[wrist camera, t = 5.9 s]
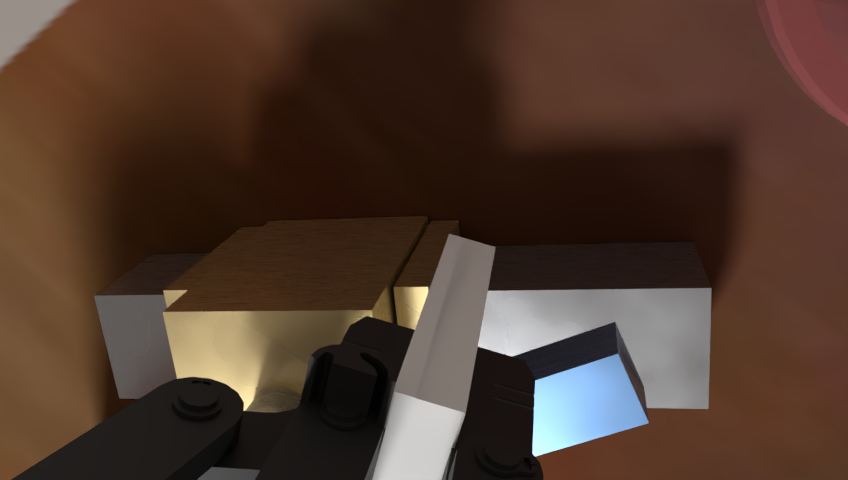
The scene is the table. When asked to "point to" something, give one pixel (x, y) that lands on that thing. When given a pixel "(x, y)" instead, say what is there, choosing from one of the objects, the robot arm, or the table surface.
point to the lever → (584, 389)
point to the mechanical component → (812, 47)
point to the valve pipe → (393, 305)
